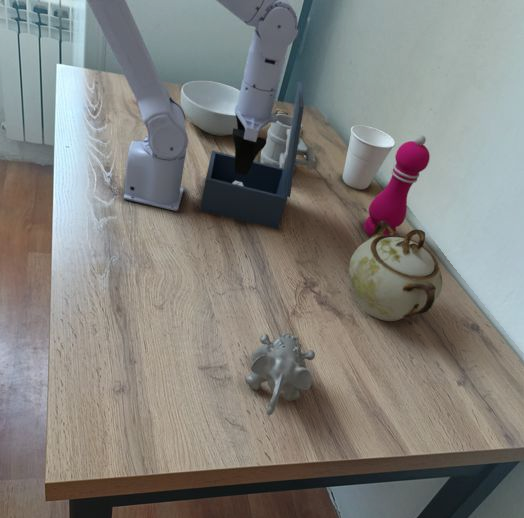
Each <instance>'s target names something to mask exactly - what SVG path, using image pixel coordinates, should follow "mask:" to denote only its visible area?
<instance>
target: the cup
mask: <svg viewBox="0 0 524 518" xmlns="http://www.w3.org/2000/svg"><path fill="white" fill-rule="evenodd" d="M395 146H396V140H395V139H394V138H393V137H392V136H391V135H390V134H389V133H387V132H385V131H383V130H380V129H379V128H376V127H372V126H369V125H363V124H358V125H357V124H356V125H352V127H351V128H350V137H349V141H348V148H347V152H346V158H345V162H344V167H343V172H342V178H341V179H342V181H343V182H344V183H345V184H346V185H347V186H348V187H350V188H352V189H356V190H366V189H367V188H369V186H370V185H371V183H372V181H373V180H374V178H375V177H376V175H377V173H378V172H379V170H380V168H381V167H382V165H383V164H384V162H385V160H386V159H387V158H388V155H389V154H390V152H391V151H392V149H393V148H395Z"/></svg>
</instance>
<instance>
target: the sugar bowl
mask: <svg viewBox="0 0 524 518" xmlns="http://www.w3.org/2000/svg"><path fill="white" fill-rule="evenodd" d="M380 229H381V230H380ZM386 230H388V232H389V233H390V235H383V234H384V233H385V231H386ZM415 235H417V236H418V238H419V241H416V240H414V239H412V237H413V236H415ZM425 241H426V232H425V231H424V230H422V229H417V228H415V229H412V230H410V231H409V232H408V233H407V234H406V235H405V236H403V235H399V234H398V233H397V231H396V232H395V231H394V230H393V229H392V228H391V227H390V225H389V224H388V223H387V222H386V221H380V222H378V223H377V224H376V226H375V228H374V230H373V236H370V238H369V239H368V240H366V241H364V242H363V243H361V244H360V245H359V246H358V247H357V249H355V250H354V252H353V254H352V255H351V257H350V261H349V266H348V267H349V269H348V271H349V272H348V273H349V280H350V284H351V287H352V289H353V293H354V295H355V299H356V301H357V304H358V305H359V307H360V308H361V309H362V310H363V311H364V312H365V313H366V314H368V315H369V316H371V317H373V318H375V319H378V320H381V321H386V322H396V321H400V320H401V319H405V318H411V317H413V316H416V315H423V314H425V313H427V312H428V311H429V310H430V309H431V308H432V307H433V305H434V304H435V302H436V301H437V300H438V299H439V296H440V294H441V292H442V288H443V274H442V271H441V268H440V266H439V262H438V260H437V258H436V257H435V255H434V254H433V253H432V251H430V250H429V249H428V247H426V246H424V244H425Z"/></svg>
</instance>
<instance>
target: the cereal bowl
mask: <svg viewBox="0 0 524 518" xmlns="http://www.w3.org/2000/svg"><path fill="white" fill-rule="evenodd" d="M240 90H241V89H238V88H236V87H233V86H231V85H227V84H226V83H225V84H224V83H221V82H217V81H210V80H192V81H189V82H185V83H184V84H183V85H182V87H181V90H180V106H181V107H182V109H183V111H184V114H185V118H187V119H188V121H190V122H191V123H192V124H193V125H195V126H196V127H198V128H199V129H200V130H202V131H203V132H205V133H207V134H210V135H214V136H221V137H222V136H223V137H224V136H229V135H231V136H232V133H233V128H235V129H238V127H237V119H236V114H235V107H236V105H237V104H238V99H239V95H240Z"/></svg>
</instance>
